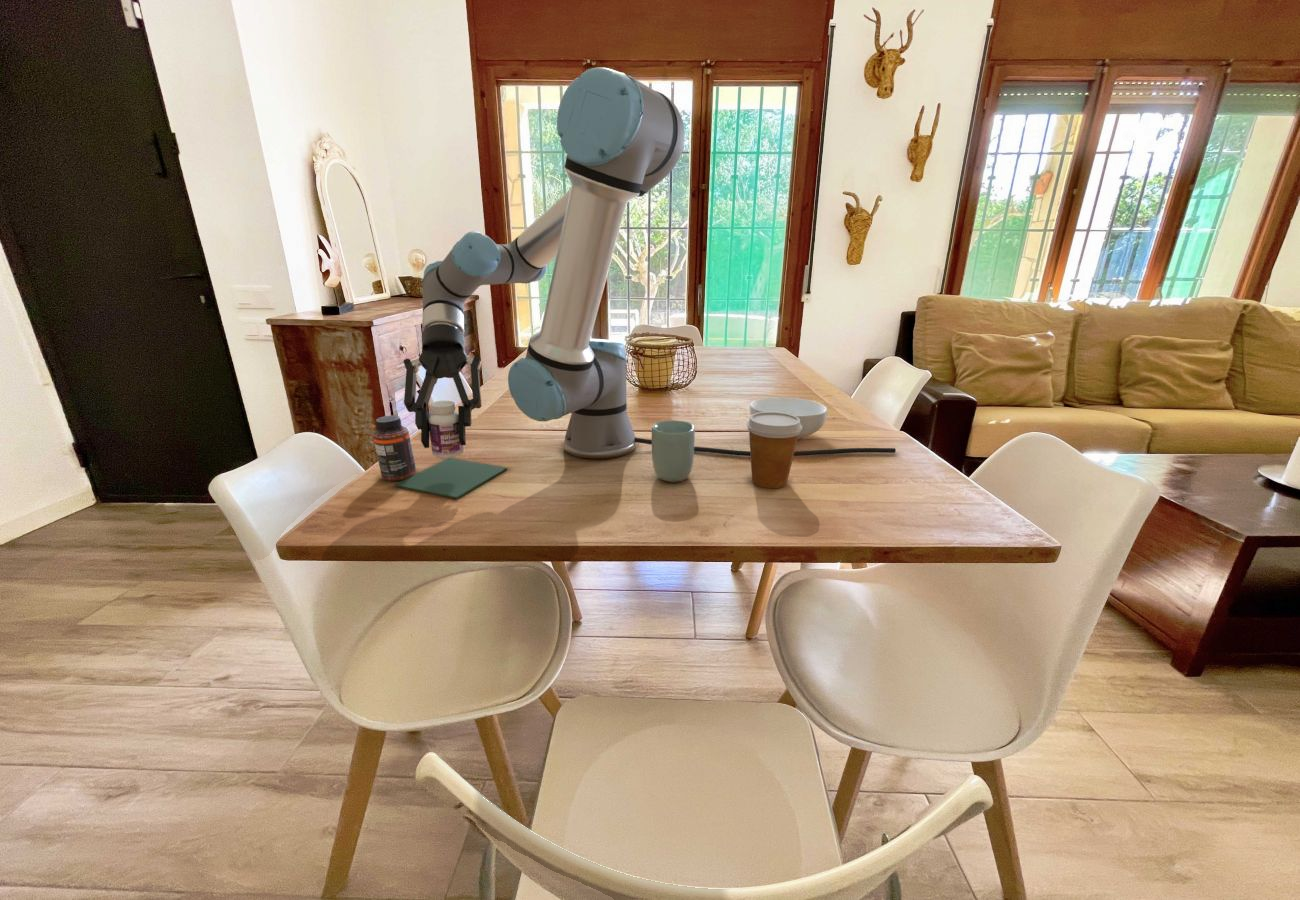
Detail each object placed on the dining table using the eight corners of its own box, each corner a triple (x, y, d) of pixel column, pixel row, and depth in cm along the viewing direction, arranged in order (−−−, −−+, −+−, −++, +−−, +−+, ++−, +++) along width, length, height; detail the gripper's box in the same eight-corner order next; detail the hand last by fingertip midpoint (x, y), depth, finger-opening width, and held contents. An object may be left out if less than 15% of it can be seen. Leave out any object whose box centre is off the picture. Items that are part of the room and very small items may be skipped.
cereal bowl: (832, 431, 121) (835, 402, 119) (811, 452, 108) (815, 420, 106) (763, 419, 130) (765, 392, 127) (736, 438, 117) (738, 408, 114)
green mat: (507, 469, 100) (507, 467, 99) (456, 499, 87) (456, 497, 87) (449, 459, 104) (449, 457, 104) (394, 486, 92) (394, 484, 92)
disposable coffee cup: (798, 474, 97) (804, 413, 93) (794, 495, 89) (801, 429, 84) (747, 468, 100) (751, 409, 96) (738, 488, 91) (742, 423, 87)
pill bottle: (445, 461, 91) (438, 409, 88) (426, 455, 94) (419, 404, 90) (470, 452, 95) (464, 402, 92) (451, 446, 98) (445, 397, 94)
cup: (693, 470, 99) (695, 420, 96) (692, 487, 92) (694, 434, 88) (653, 469, 100) (653, 419, 96) (649, 485, 93) (649, 432, 89)
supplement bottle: (409, 467, 101) (399, 411, 97) (421, 475, 97) (411, 418, 93) (377, 475, 97) (365, 418, 93) (388, 485, 93) (376, 425, 89)
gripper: (495, 344, 104) (500, 448, 95) (397, 347, 100) (392, 456, 91) (491, 320, 98) (496, 429, 88) (385, 323, 94) (379, 437, 84)
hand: (443, 442), depth 90 cm, fingers closed on pill bottle, 5 cm apart
